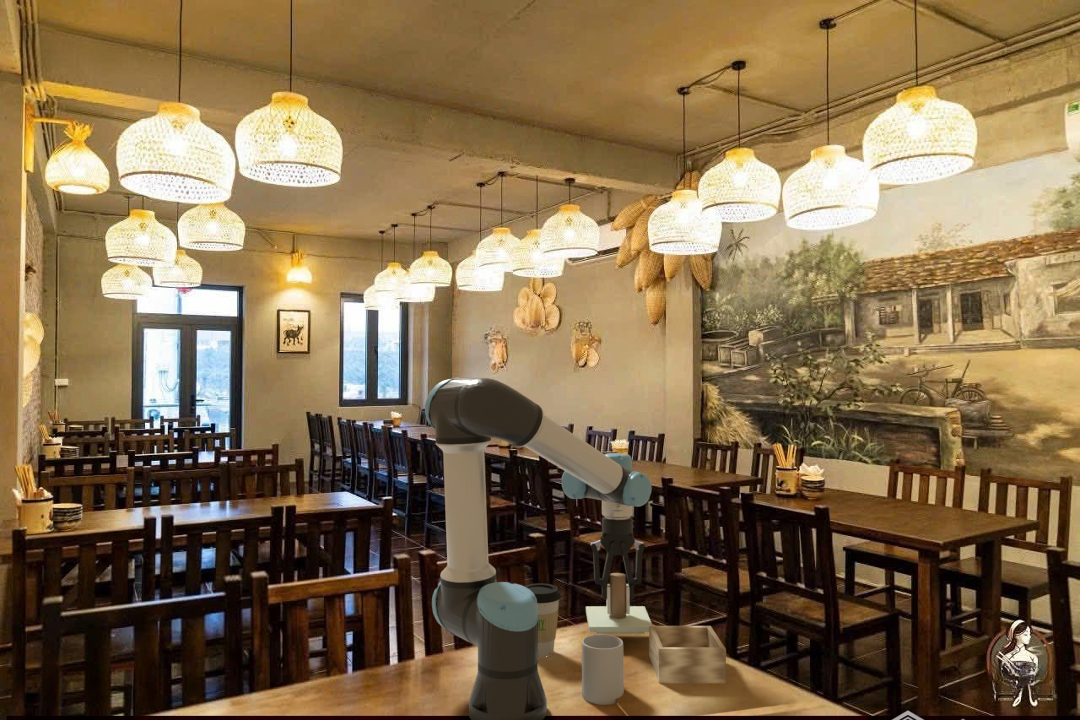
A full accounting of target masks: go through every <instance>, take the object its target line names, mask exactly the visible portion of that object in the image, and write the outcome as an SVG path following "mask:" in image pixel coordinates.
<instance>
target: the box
mask: <svg viewBox="0 0 1080 720" xmlns="http://www.w3.org/2000/svg"><path fill="white" fill-rule="evenodd" d="M648 635H649V636H648V638H649V639H648V641H649V642H648V643H649V645H648V647H649V648H648V651H649V652H648V653H649V654H648V655H649V656H648V657H649V660H650V663H651V666H652V668H653V671H654V673H655V676H656V679H657V682H658V683H659V684H727V649H726V647H725V645H724V644H723V643H722V641H721V640H720V638H719V636H718V635H717V633H716V632H715V631H714V629H713V627H712V626H711V625H653V626H649V632H648Z"/></svg>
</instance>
